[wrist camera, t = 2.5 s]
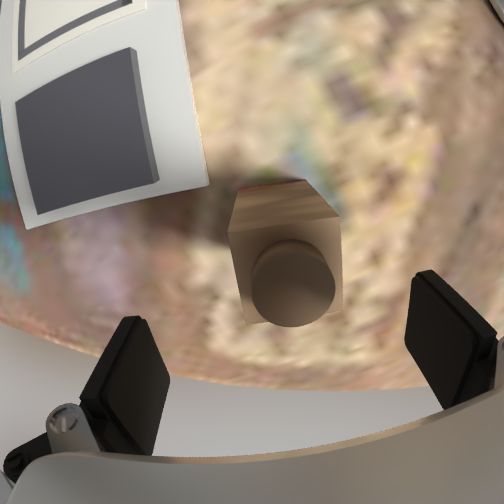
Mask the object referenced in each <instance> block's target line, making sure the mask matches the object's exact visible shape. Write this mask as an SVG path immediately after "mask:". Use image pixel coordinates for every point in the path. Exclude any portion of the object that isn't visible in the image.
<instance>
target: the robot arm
mask: <svg viewBox="0 0 504 504" xmlns="http://www.w3.org/2000/svg"><path fill="white" fill-rule="evenodd" d="M490 2H491V4H492V6H493V8H494V9H495V11H496V12H497V14H498V16H499V17H500V19H501V20H502V21H503V23H504V0H490ZM496 335H497V332H496V331H495V329H494V328H493V327H492V326H491V325H490V324H489V323H488V322H487V321H486V320H485V319H484V318H483V317H482V316H481V315H480V314H479V313H478V312H477V311H476V310H475V309H474V308H473V307H472V306H471V305H470V304H469V303H468V302H467V301H466V300H465V299H463V298H462V297H461V296H460V295H459V294H458V293H457V292H456V291H455V290H454V289H453V288H452V287H451V286H450V285H449V284H447V283H446V282H445V281H444V280H443V279H442V278H441V277H440V276H439V275H438V274H436V273H435V272H434V271H433V270H426V271H422V272H418V273H416V275H415V277H413V278H412V282H411V291H410V301H409V309H408V317H407V324H406V331H405V338H404V340H405V345H406V347H407V349H408V351H409V352H410V354H411V355H412V357H413V359H414V360H415V362H416V363H417V365H418V367H419V368H420V370H421V372H422V373H423V375H424V377H425V378H426V380H427V382H428V384H429V385H430V387H431V389H432V390H433V392H434V394H435V396H436V397H437V399H438V401H439V403H440V404H441V406H442V408H443V409H444V410H443V411H441V412H438V413H436V414H433V415H430V416H428V417H425V418H422V419H419V420H416V421H413V422H410V423H408V424H404V425H401V426H398V427H395V428H392V429H388V430H385V431H381V432H378V433H374V434H370V435H367V436H362V437H358V438H354V439H350V440H346V441H342V442H337V443H332V444H327V445H321V446H316V447H310V448H304V449H298V450H291V451H284V452H276V453H266V454H256V455H244V456H226V457H164V456H151V455H152V453H153V449H154V445H155V440H156V436H157V432H158V428H159V424H160V420H161V416H162V412H163V408H164V404H165V400H166V396H167V392H168V388H169V384H170V376H169V373H168V371H167V368H166V366H165V364H164V362H163V359H162V357H161V355H160V353H159V350H158V348H157V345H156V343H155V341H154V338H153V336H152V333H151V331H150V328H149V326H148V323H147V321H146V320H145V319H142V318H141V317H140V316H128V317H124V318H123V319H122V320H121V322H120V324H119V326H118V327H117V329H116V331H115V332H114V334H113V336H112V338H111V339H110V341H109V343H108V345H107V347H106V348H105V350H104V352H103V354H102V356H101V357H100V359H99V361H98V363H97V365H96V367H95V369H94V371H93V372H92V374H91V376H90V378H89V380H88V382H87V384H86V386H85V387H84V390H83V391H82V393H81V395H80V397H79V398H80V400H81V403H80V405H79V406H78V405H76V404H72V403H67V404H63V405H60V406H58V407H57V408H55V409H54V410H53V411H52V412H51V413H50V414H49V416H48V418H47V420H46V430H47V432H46V433H44V434H42V435H40V436H38V437H36V438H34V439H32V440H31V441H29V442H27V443H25V444H23V445H21V446H19V447H17V448H15V449H14V450H12V451H11V452H10V453H9V454H8V455H7V456H6V459H5V460H4V465H3V468H4V472H2V471H1V470H0V504H504V337H502V338H501V339H500V340H499V341H498V340H497V338H496Z"/></svg>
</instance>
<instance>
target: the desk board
mask: <svg viewBox="0 0 504 504" xmlns="http://www.w3.org/2000/svg"><path fill="white" fill-rule="evenodd" d="M0 104H1V114H2V122H3V130H4V137H5V143H6V149H7V155H8V160H9V165H10V170H11V174H12V179H13V183H14V187H15V191H16V195H17V199H18V203H19V206H20V210H21V213H22V217H23V220H24V223H25V227H26V230H27V229H31V228H34V227H37V226H41V225H44V224H47V223H51V222H54V221H58V220H61V219H65V218H69V217H72V216H76V215H80V214H83V213H87V212H91V211H95V210H99V209H103V208H107V207H111V206H115V205H119V204H124V203H128V202H132V201H137V200H141V199H146V198H150V197H155V196H160V195H164V194H169V193H174V192H179V191H184V190H189V189H195V188H200V187H205V186H208V185H209V184H210V181H209V176H208V171H207V166H206V160H205V155H204V150H203V144H202V139H201V134H200V128H199V123H198V117H197V112H196V106H195V100H194V95H193V89H192V83H191V77H190V71H189V65H188V59H187V53H186V47H185V40H184V34H183V27H182V21H181V14H180V7H179V1H178V0H2V4H1V13H0Z"/></svg>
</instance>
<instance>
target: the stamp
mask: <svg viewBox="0 0 504 504" xmlns="http://www.w3.org/2000/svg"><path fill="white" fill-rule="evenodd" d="M227 234H228V239H229V244H230V249H231V254H232V259H233V264H234V269H235V274H236V279H237V283H238V288H239V293H240V298H241V302H242V307H243V312H244V316H245V321H246V325H248V324H256V323H264V322H271V323H273V324H275V325H278V326H283V327H299V326H303V325H306V324H309V323H311V322H313V321H315V320H317V319H318V318H320V317H321V316H322V315H323V314H325V313H331V312H336V311H342V310H343V280H342V251H341V231H340V217H339V215H338V214H337V213H336V212H335V211H334V210H333V209H332V208H331V206H330V205H329V204H328V203H327V202H326V201H325V200H324V199H323V198H322V197H321V196H320V194H319V193H318V192H317V191H316V190H315V189H314V188H313V187H312V186H311V185H310V184H309V183H308V182H307V181H306V180H300V181H293V182H285V183H278V184H271V185H264V186H258V187H251V188H245V189H238V192H237V196H236V200H235V203H234V207H233V211H232V215H231V219H230V223H229V227H228V231H227Z"/></svg>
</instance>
